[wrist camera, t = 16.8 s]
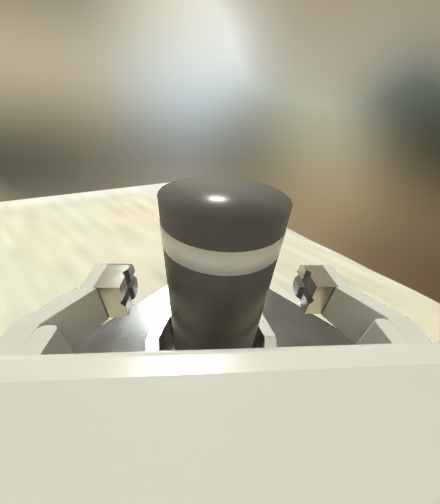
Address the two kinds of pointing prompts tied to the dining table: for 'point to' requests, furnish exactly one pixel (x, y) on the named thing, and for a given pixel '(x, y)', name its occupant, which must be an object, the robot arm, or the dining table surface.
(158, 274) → the dining table surface
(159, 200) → the grey peg
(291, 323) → the mount plate
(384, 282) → the dining table surface
